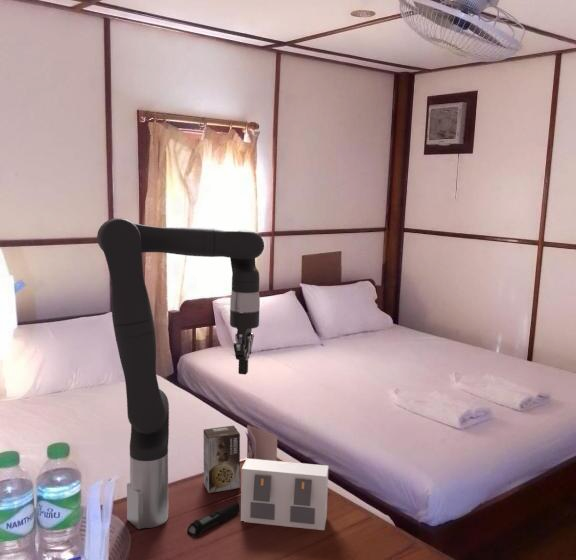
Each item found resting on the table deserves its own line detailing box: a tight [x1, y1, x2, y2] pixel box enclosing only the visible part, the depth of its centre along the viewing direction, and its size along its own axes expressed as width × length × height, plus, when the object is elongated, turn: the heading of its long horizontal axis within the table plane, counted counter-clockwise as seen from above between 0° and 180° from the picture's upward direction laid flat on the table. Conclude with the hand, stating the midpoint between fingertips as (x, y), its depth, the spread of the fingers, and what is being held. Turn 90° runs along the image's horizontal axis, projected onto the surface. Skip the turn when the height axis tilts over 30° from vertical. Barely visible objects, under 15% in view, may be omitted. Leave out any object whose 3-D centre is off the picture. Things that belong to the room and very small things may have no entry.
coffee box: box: [203, 425, 241, 494], centre depth 169 cm, size 9×6×16 cm
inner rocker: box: [253, 475, 271, 502], centre depth 148 cm, size 4×1×6 cm, turn 81°
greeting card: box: [245, 424, 278, 461], centre depth 172 cm, size 11×7×15 cm, turn 15°
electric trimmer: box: [186, 501, 240, 538], centre depth 151 cm, size 4×16×3 cm, turn 138°
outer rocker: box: [293, 478, 312, 506], centre depth 147 cm, size 4×1×6 cm, turn 81°
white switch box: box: [240, 457, 329, 531], centre depth 152 cm, size 21×6×14 cm, turn 81°
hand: (243, 373), depth 158 cm, fingers closed
